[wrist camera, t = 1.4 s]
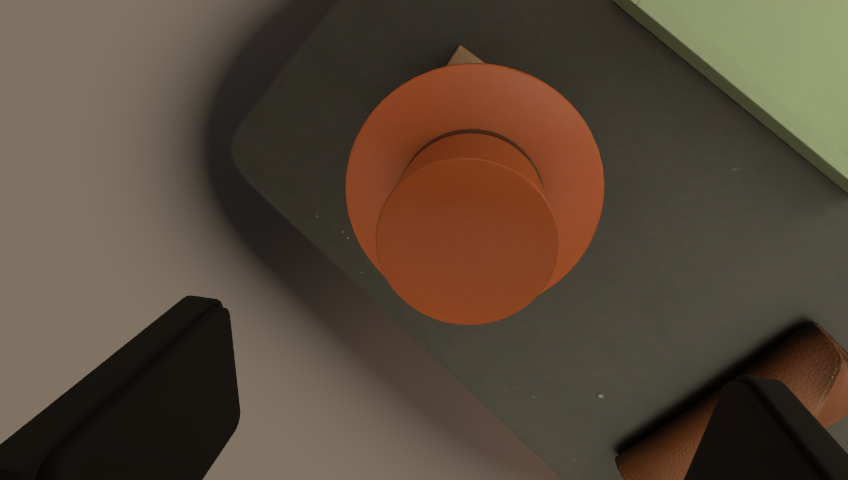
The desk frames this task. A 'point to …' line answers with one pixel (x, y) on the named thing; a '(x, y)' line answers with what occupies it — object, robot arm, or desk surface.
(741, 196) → the desk surface
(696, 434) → the sunglasses case
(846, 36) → the tray
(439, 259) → the small hat
